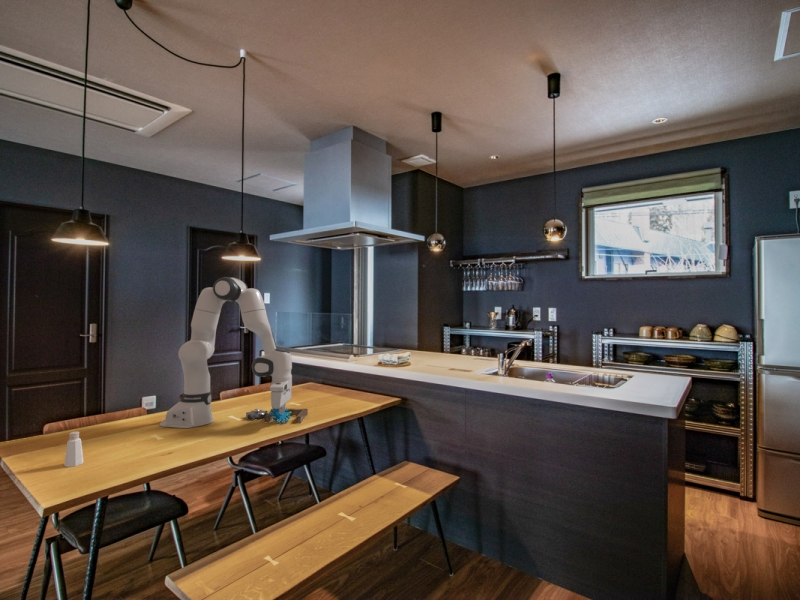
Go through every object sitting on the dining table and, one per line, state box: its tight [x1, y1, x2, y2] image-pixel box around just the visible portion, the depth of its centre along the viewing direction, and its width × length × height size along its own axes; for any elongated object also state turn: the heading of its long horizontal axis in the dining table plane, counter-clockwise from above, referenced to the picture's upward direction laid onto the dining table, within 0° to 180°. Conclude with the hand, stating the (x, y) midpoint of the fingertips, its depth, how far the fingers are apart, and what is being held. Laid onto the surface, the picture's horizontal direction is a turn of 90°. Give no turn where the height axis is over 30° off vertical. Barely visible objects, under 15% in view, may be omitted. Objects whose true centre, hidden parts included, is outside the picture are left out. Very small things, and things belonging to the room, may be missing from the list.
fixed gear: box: [245, 408, 269, 421], centre depth 206 cm, size 10×10×4 cm
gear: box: [269, 407, 292, 425], centre depth 199 cm, size 11×6×10 cm
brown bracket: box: [263, 408, 309, 424], centre depth 204 cm, size 17×15×3 cm
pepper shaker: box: [64, 430, 85, 468], centre depth 146 cm, size 5×5×11 cm
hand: (282, 413), depth 196 cm, fingers closed
